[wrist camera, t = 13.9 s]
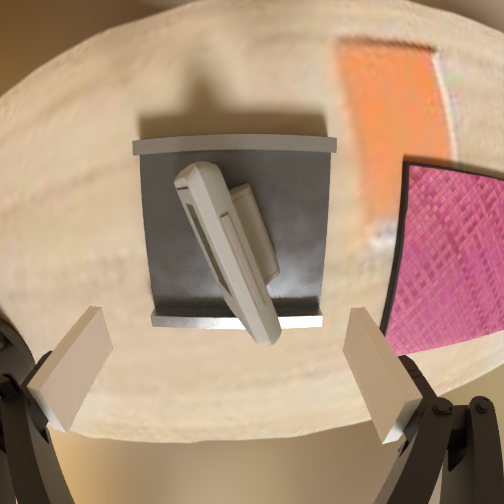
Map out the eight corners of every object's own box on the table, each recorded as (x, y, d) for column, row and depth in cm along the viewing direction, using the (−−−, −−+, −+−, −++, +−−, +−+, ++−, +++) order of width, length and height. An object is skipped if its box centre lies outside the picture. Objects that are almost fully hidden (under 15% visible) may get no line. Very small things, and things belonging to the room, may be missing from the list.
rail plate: (158, 313, 35) (152, 326, 32) (142, 141, 28) (132, 140, 25) (316, 313, 35) (321, 326, 33) (328, 139, 28) (336, 137, 26)
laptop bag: (381, 366, 35) (414, 162, 26) (371, 350, 39) (397, 160, 30) (530, 325, 35) (560, 196, 27) (520, 317, 39) (547, 192, 31)
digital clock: (174, 166, 28) (137, 175, 18) (261, 151, 28) (269, 149, 18) (205, 305, 33) (191, 365, 23) (281, 294, 33) (294, 352, 23)
